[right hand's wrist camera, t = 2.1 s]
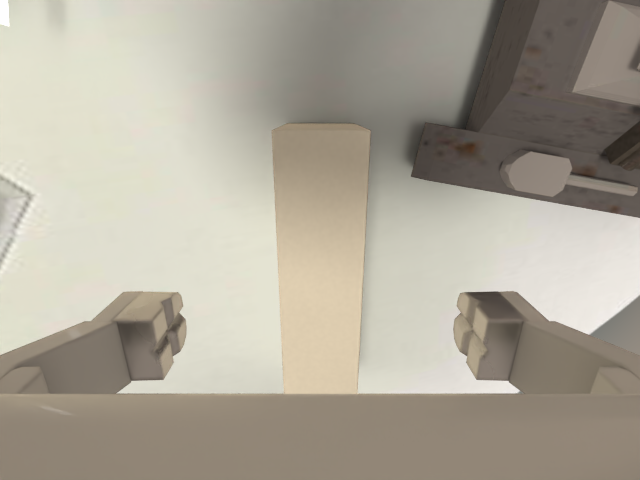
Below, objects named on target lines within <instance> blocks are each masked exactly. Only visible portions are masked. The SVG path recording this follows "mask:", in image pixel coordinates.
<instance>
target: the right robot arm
mask: <svg viewBox="0 0 640 480" xmlns="http://www.w3.org/2000/svg"><path fill="white" fill-rule="evenodd" d="M0 24H4V25H7V26H9V17H8V0H0ZM182 307H183V302H182V297H181V295H180V294H179V293H178V292H143V291H135V292H123V293H122V294H121V295H120V296H118V297H117V298H116V299H115V300H114V301H113V302H112V303H111V304H110V305H108V306H107V307H106V308H105V309H104V310H103V311H102V312H101V313H99V314H98V315H97V316H96V317H95V318H94V319H93V320H92V321H85V322H82V323H80V324H77V325H75V326H72V327H70V328H67V329H65V330H62V331H60V332H57V333H55V334H52V335H50V336H47V337H45V338H42V339H40V340H37V341H35V342H32V343H30V344H27V345H25V346H22V347H20V348H17V349H15V350H12V351H10V352H7V353H5V354H2V355H0V480H640V355H637V354H635V353H632V352H630V351H627V350H625V349H622V348H620V347H618V346H615V345H613V344H610V343H608V342H605V341H603V340H600V339H598V338H595V337H593V336H590V335H588V334H585V333H583V332H580V331H578V330H575V329H573V328H570V327H568V326H565V325H563V324H560V323H558V322H555V321H548V320H547V319H546V318H545V317H544V316H543V315H542V314H541V313H539V312H538V311H537V310H536V309H535V308H534V307H533V306H532V305H531V304H529V303H528V302H527V301H526V300H525V299H524V298H523V297H522V296H521V295H519V294H518V293H517V292H514V291H506V292H464V293H460V295H459V297H458V302H457V307H458V309H459V310H460V312H461V313H460V314H459V315H458V316H457V317H456V318H455V321H454V329H453V330H454V339H455V342H456V345H457V347H458V349H459V351H460V352H461V353H463V354H465V355H466V356H467V361H466V363H467V364H468V366H469V368H470V370H471V371H472V373H473V375H474V376H475V378H476V380H502V381H509V383H511V384H512V385H514V386H515V387H516V388H518V389H519V390H520V391H522V392H523V393H524V394H116V393H117V392H119V391H120V390H121V389H123V388H124V387H125V386H127V385H128V384H129V383H131V381H137V380H164V378H165V376H166V375H167V373H168V371H169V370H170V368H171V366H172V365H173V363H174V361H173V356H174V355H175V354H177V353H179V352H180V351H181V349H182V347H183V345H184V342H185V338H186V320H185V318H184V317H183V316H182V315H181V314H180V313H179V312H180V310H181V309H182Z"/></svg>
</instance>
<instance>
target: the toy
mask: <svg viewBox="0 0 640 480" xmlns="http://www.w3.org/2000/svg"><path fill="white" fill-rule="evenodd" d="M411 177H415V178H420V179H424V180H429V181H434V182H440V183H446V184H451V185H457V186H462V187H468V188H474V189H480V190H485V191H491V192H497V193H502V194H508V195H514V196H519V197H525V198H531V199H536V200H542V201H548V202H553V203H559V204H565V205H570V206H576V207H582V208H587V209H593V210H599V211H604V212H610V213H616V214H621V215H627V216H633V217H638V218H640V0H505V3H504V6H503V9H502V12H501V16H500V19H499V22H498V25H497V28H496V32H495V35H494V38H493V41H492V44H491V48H490V51H489V54H488V57H487V61H486V64H485V67H484V70H483V73H482V77H481V80H480V83H479V86H478V90H477V93H476V96H475V99H474V102H473V106H472V109H471V112H470V115H469V118H468V122H467V125H466V128H465V130H463V129H458V128H452V127H447V126H442V125H436V124H431V123H425V127H424V130H423V134H422V138H421V141H420V145H419V149H418V152H417V156H416V160H415V163H414V167H413V170H412V174H411Z"/></svg>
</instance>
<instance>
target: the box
mask: <svg viewBox="0 0 640 480" xmlns="http://www.w3.org/2000/svg"><path fill="white" fill-rule="evenodd" d="M370 139H371V130H369V129H366V128H364V127H361V126H359V125H357V124H354V123H287V124H285V125H283V126H280V127H278V128H276V129H274V130H272V147H273V169H274V190H275V211H276V233H277V254H278V275H279V296H280V318H281V339H282V360H283V382H284V394H357V389H358V370H359V351H360V332H361V312H362V293H363V274H364V254H365V235H366V216H367V197H368V177H369V158H370Z"/></svg>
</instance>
